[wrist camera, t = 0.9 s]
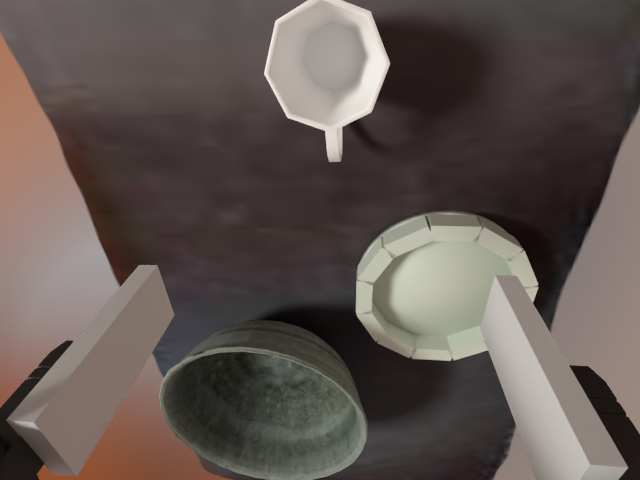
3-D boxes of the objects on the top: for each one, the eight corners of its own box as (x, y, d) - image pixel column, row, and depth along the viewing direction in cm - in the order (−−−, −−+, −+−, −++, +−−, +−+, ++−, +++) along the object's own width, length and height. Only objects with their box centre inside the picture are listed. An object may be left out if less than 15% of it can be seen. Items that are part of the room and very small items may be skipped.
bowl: (339, 417, 50) (335, 499, 41) (189, 380, 49) (153, 457, 40) (392, 308, 39) (401, 389, 30) (200, 258, 38) (154, 328, 29)
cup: (382, -6, 25) (391, -16, 18) (382, 140, 30) (388, 177, 23) (281, 4, 26) (252, -1, 19) (297, 145, 31) (279, 181, 24)
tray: (358, 208, 33) (358, 224, 31) (543, 211, 32) (559, 228, 29) (355, 334, 41) (354, 355, 39) (501, 342, 40) (511, 364, 37)
